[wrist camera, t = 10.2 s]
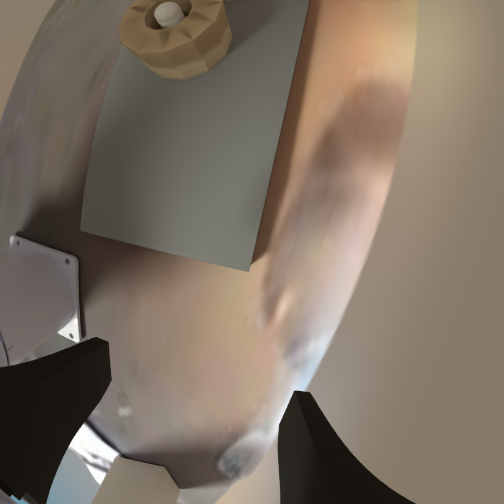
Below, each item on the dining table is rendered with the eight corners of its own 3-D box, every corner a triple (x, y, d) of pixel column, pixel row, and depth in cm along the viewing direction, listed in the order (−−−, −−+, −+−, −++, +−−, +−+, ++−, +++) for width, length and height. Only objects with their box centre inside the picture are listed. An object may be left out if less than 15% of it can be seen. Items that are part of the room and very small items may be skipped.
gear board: (91, 227, 18) (35, 243, 12) (181, -45, 12) (163, -83, 6) (250, 265, 18) (241, 303, 12) (317, -37, 12) (327, -81, 6)
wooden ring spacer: (136, 78, 14) (105, 56, 10) (162, 14, 13) (141, -16, 9) (218, 82, 14) (203, 53, 10) (240, 15, 12) (232, -22, 9)
